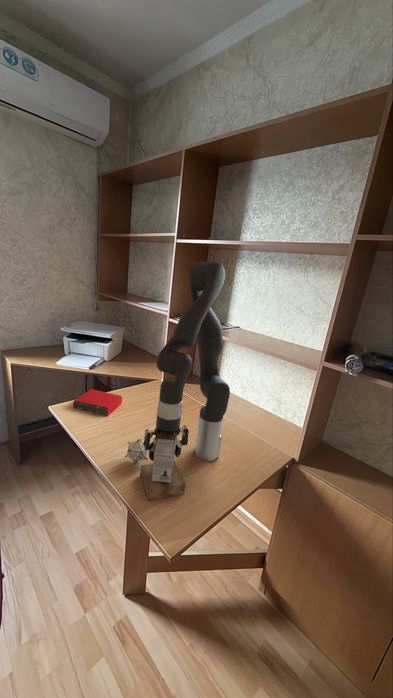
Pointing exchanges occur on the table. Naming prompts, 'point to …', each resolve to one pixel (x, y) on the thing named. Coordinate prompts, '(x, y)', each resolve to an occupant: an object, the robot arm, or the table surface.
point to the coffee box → (164, 456)
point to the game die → (136, 451)
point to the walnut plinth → (161, 484)
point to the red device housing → (98, 402)
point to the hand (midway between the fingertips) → (164, 457)
